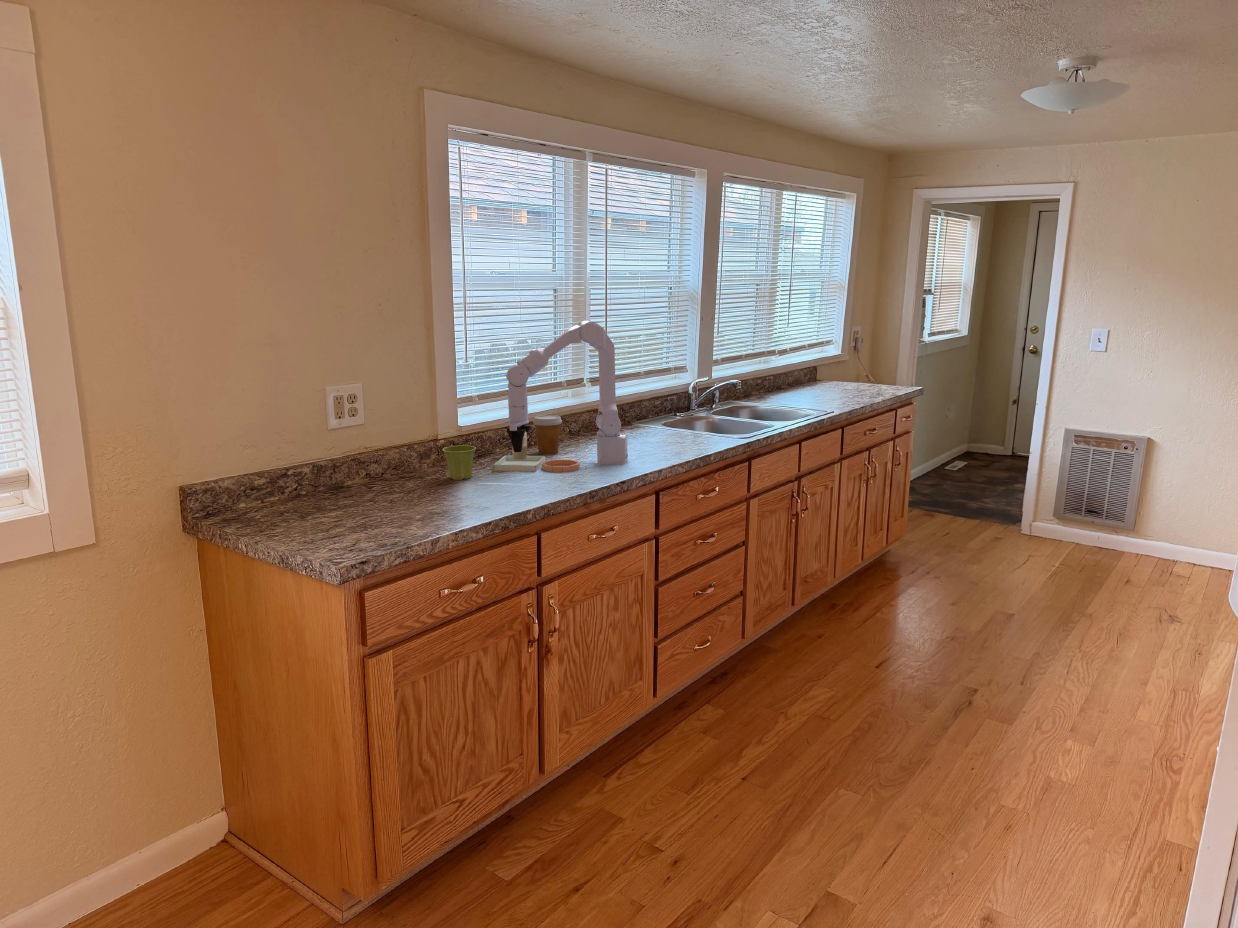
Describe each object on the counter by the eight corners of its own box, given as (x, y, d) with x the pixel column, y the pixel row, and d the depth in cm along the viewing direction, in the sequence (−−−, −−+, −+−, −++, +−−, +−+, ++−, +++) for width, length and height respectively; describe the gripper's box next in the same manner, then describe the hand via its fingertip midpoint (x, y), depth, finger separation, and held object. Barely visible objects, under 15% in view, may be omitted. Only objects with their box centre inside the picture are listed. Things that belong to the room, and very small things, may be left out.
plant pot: (470, 482, 241) (468, 451, 239) (438, 480, 243) (437, 450, 241) (481, 474, 250) (480, 445, 248) (451, 473, 252) (450, 444, 250)
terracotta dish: (582, 466, 261) (582, 459, 260) (576, 473, 250) (575, 467, 250) (546, 465, 262) (546, 459, 262) (539, 473, 251) (539, 466, 251)
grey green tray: (545, 463, 265) (545, 456, 265) (536, 472, 252) (536, 465, 251) (505, 462, 267) (504, 455, 267) (493, 472, 253) (493, 464, 253)
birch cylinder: (528, 456, 261) (528, 431, 259) (525, 459, 256) (524, 433, 255) (514, 456, 261) (513, 430, 260) (511, 459, 257) (510, 433, 255)
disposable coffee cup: (564, 450, 285) (564, 414, 283) (560, 456, 276) (559, 419, 274) (536, 450, 286) (535, 414, 284) (531, 455, 277) (530, 419, 275)
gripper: (510, 402, 263) (512, 445, 266) (498, 409, 249) (500, 454, 252) (533, 402, 262) (534, 446, 265) (522, 409, 248) (524, 455, 251)
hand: (519, 450), depth 258 cm, fingers closed on birch cylinder, 4 cm apart
